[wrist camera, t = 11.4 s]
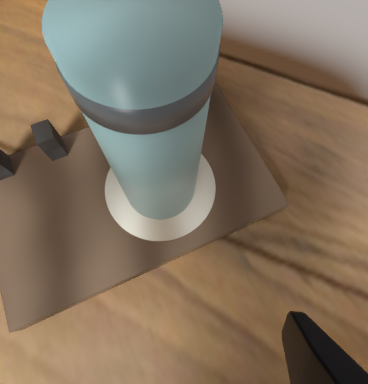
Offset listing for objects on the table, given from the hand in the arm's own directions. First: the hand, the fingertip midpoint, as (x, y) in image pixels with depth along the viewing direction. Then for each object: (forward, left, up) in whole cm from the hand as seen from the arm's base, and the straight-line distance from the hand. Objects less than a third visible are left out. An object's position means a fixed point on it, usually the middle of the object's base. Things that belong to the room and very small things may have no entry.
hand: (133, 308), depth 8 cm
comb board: (+1, +8, -12) cm, 14 cm away
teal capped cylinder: (+3, +7, -10) cm, 12 cm away
